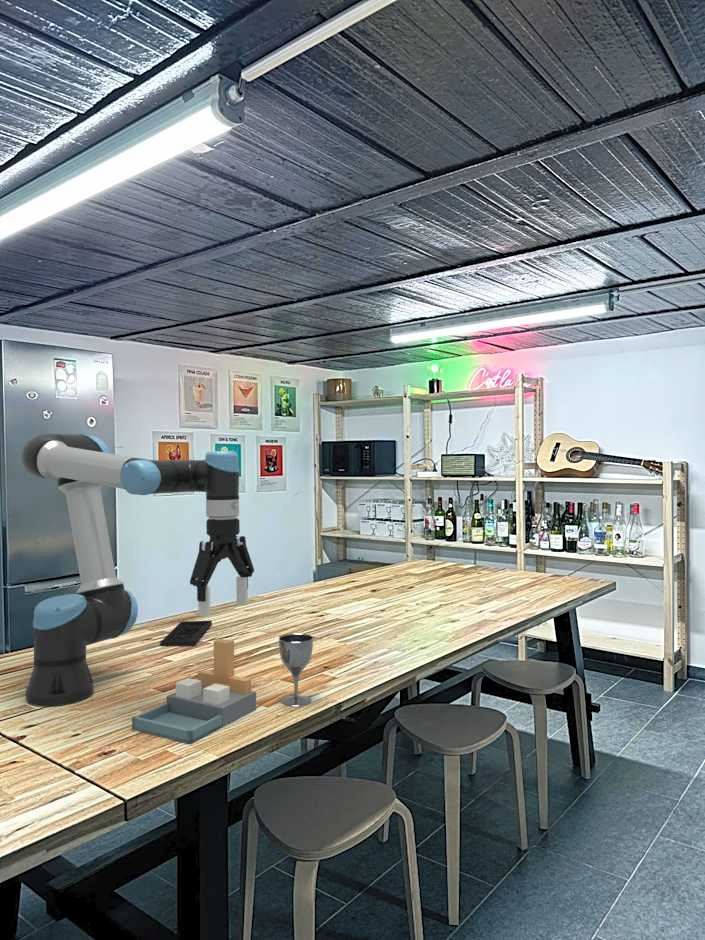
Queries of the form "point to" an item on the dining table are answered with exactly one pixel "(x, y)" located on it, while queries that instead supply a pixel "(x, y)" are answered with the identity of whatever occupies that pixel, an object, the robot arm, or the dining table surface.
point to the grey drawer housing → (213, 706)
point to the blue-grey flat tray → (174, 725)
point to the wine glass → (295, 662)
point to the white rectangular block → (216, 694)
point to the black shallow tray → (188, 633)
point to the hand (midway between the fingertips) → (224, 609)
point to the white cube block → (188, 688)
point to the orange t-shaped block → (224, 669)
